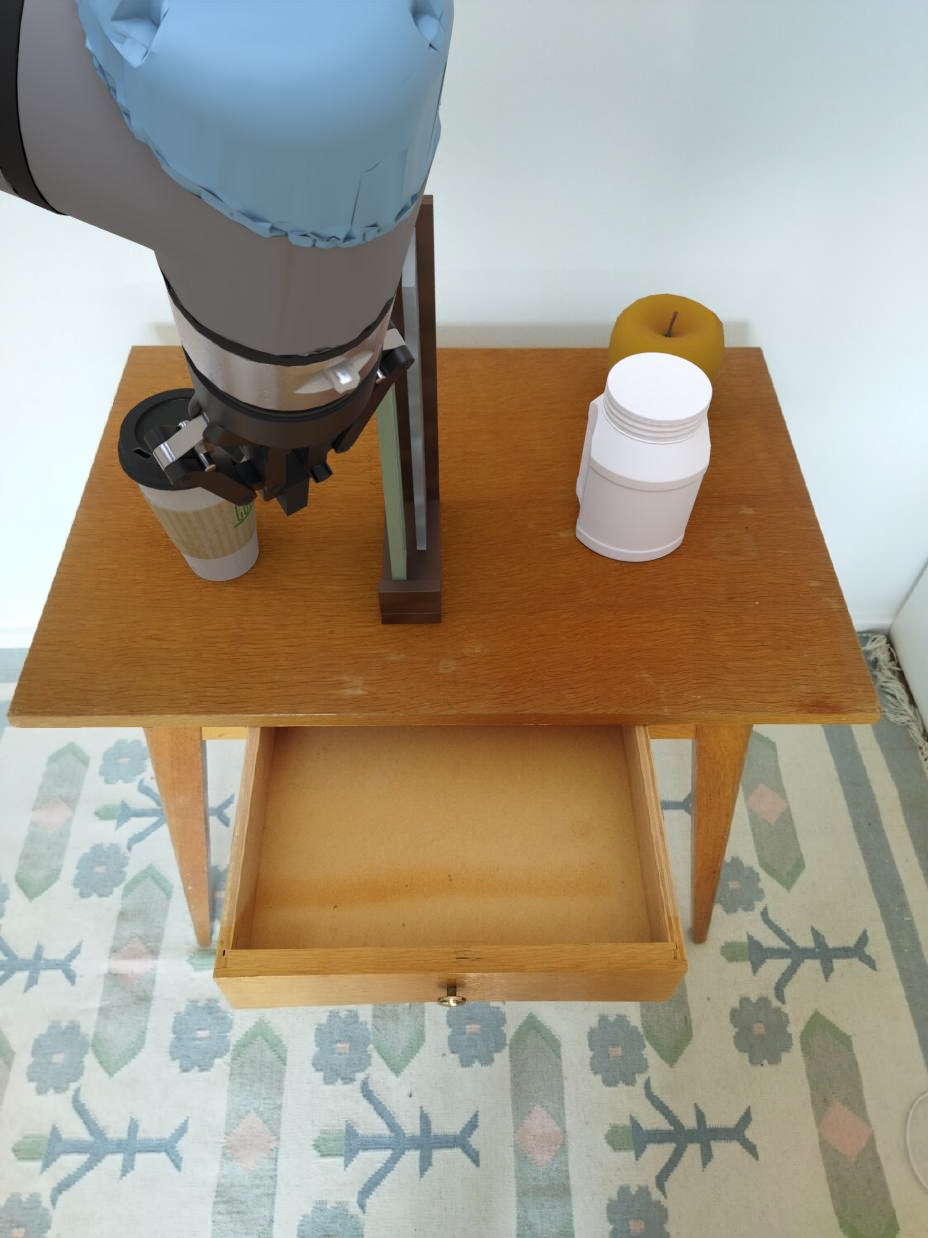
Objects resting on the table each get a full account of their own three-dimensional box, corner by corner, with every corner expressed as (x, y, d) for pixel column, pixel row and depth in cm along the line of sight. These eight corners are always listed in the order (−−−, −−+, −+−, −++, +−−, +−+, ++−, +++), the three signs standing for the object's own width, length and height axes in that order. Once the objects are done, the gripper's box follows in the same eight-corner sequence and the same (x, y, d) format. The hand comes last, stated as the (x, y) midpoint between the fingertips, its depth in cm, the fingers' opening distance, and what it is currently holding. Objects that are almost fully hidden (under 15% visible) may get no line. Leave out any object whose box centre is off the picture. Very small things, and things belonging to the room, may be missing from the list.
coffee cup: (301, 541, 74) (271, 412, 62) (228, 615, 70) (179, 491, 57) (220, 498, 77) (176, 366, 65) (144, 566, 72) (81, 438, 60)
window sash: (394, 595, 68) (367, 325, 47) (395, 549, 71) (370, 275, 50) (406, 594, 68) (384, 325, 47) (406, 548, 71) (386, 275, 50)
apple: (578, 398, 86) (595, 286, 76) (669, 376, 88) (699, 265, 78) (624, 468, 80) (649, 358, 70) (721, 443, 82) (760, 333, 72)
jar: (683, 566, 73) (728, 439, 61) (575, 558, 73) (599, 430, 61) (674, 474, 80) (714, 342, 67) (576, 468, 80) (597, 336, 68)
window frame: (382, 624, 69) (344, 324, 45) (386, 502, 77) (356, 194, 54) (441, 623, 69) (434, 324, 46) (439, 501, 77) (433, 193, 54)
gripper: (175, 490, 29) (226, 593, 51) (483, 331, 32) (402, 495, 55) (62, 306, 29) (163, 491, 51) (381, 165, 32) (343, 399, 55)
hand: (286, 493), depth 53 cm, fingers closed
